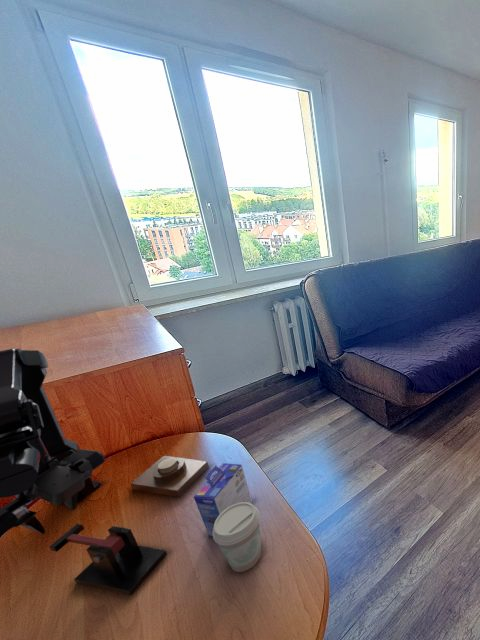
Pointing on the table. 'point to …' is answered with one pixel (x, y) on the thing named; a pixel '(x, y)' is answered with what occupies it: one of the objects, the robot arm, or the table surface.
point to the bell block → (170, 477)
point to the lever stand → (120, 564)
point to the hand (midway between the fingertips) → (58, 520)
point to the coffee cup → (239, 535)
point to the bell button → (167, 465)
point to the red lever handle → (87, 540)
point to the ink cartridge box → (221, 492)
